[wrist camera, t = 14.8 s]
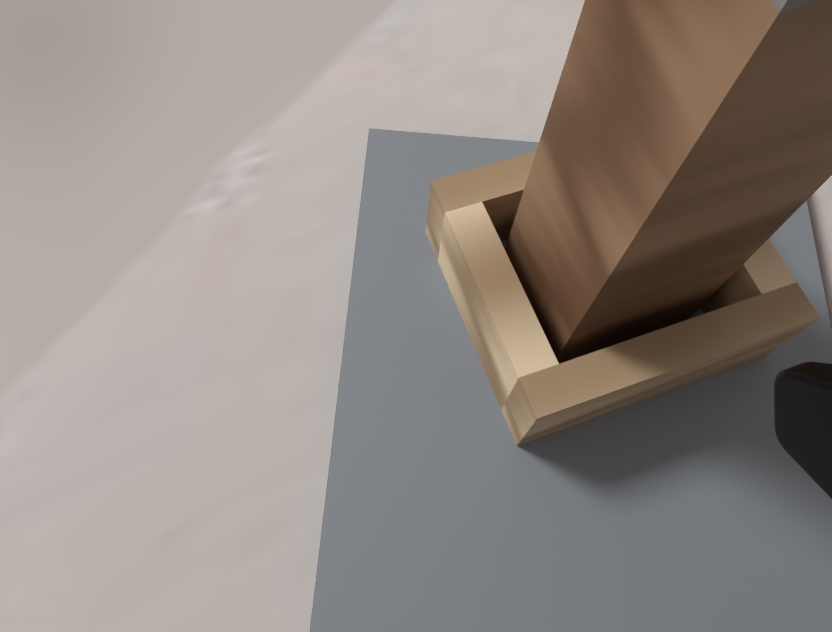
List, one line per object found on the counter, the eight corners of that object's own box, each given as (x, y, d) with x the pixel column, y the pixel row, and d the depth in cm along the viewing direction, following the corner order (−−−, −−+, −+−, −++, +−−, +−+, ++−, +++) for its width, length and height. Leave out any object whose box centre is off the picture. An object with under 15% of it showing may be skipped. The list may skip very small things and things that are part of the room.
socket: (766, 355, 23) (820, 317, 20) (516, 445, 21) (536, 418, 18) (652, 164, 25) (684, 109, 23) (425, 231, 24) (430, 180, 21)
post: (686, 321, 23) (1106, -103, 10) (549, 369, 22) (803, -26, 9) (630, 222, 24) (927, -263, 11) (500, 263, 24) (653, -211, 10)
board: (785, 179, 27) (799, 164, 26) (876, 676, 20) (900, 679, 19) (369, 145, 27) (369, 128, 26) (312, 635, 20) (309, 635, 19)
